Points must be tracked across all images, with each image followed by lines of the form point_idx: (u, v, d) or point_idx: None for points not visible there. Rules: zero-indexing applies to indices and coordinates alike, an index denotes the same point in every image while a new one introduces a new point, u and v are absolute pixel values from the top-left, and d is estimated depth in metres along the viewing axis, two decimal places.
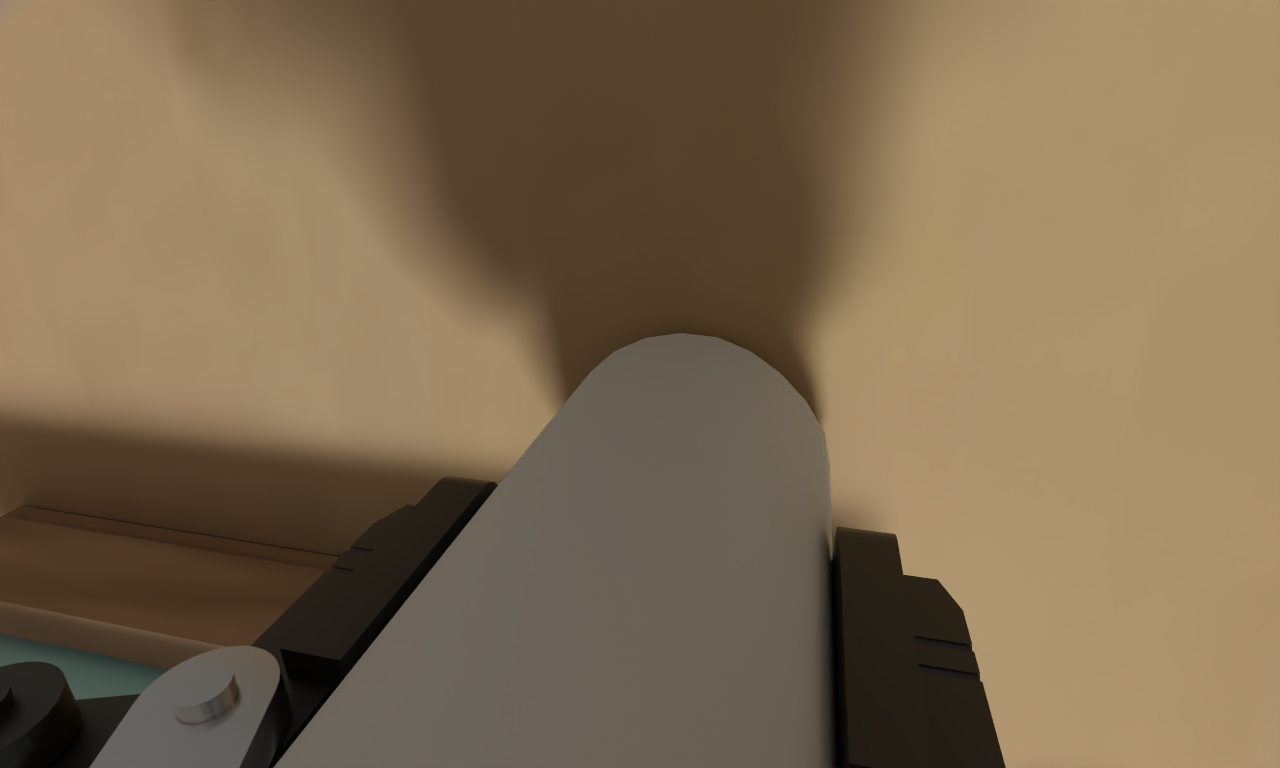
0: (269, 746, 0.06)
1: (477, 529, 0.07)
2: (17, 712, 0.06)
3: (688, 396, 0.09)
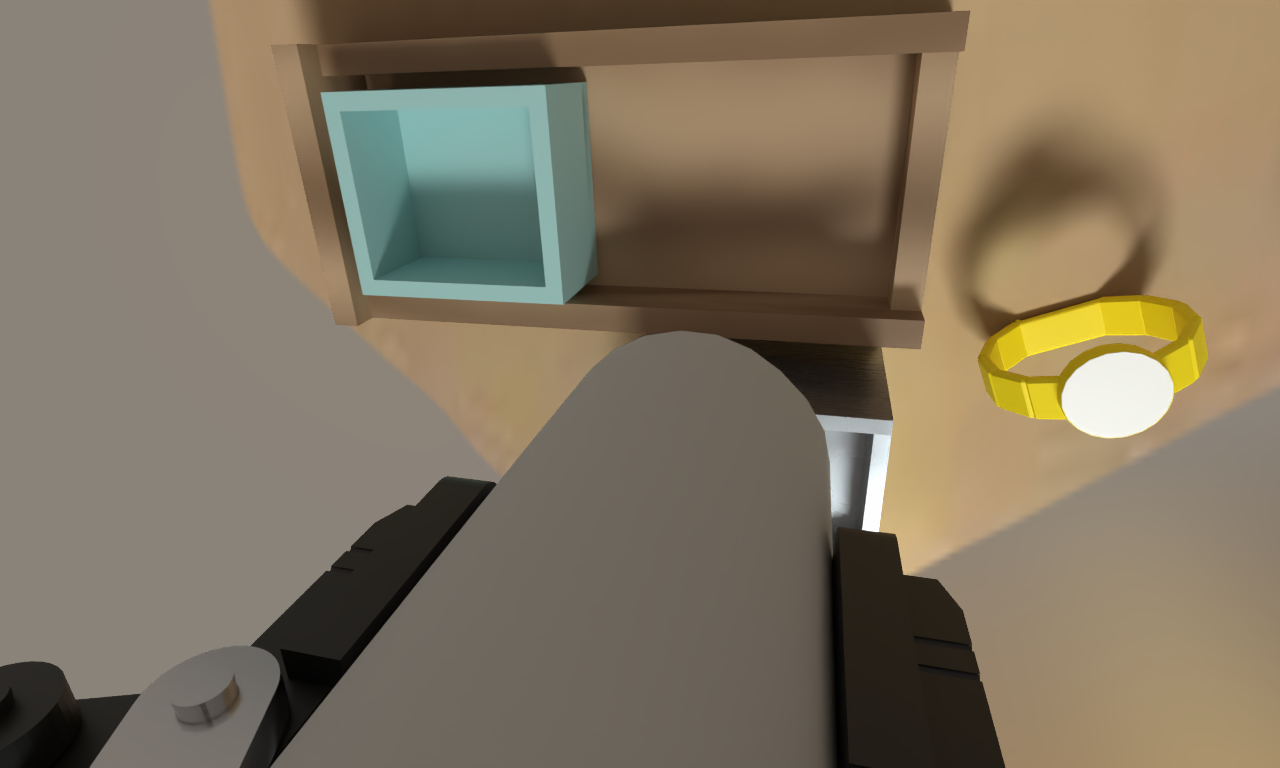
0: (269, 746, 0.06)
1: (477, 526, 0.07)
2: (17, 712, 0.06)
3: (689, 393, 0.09)
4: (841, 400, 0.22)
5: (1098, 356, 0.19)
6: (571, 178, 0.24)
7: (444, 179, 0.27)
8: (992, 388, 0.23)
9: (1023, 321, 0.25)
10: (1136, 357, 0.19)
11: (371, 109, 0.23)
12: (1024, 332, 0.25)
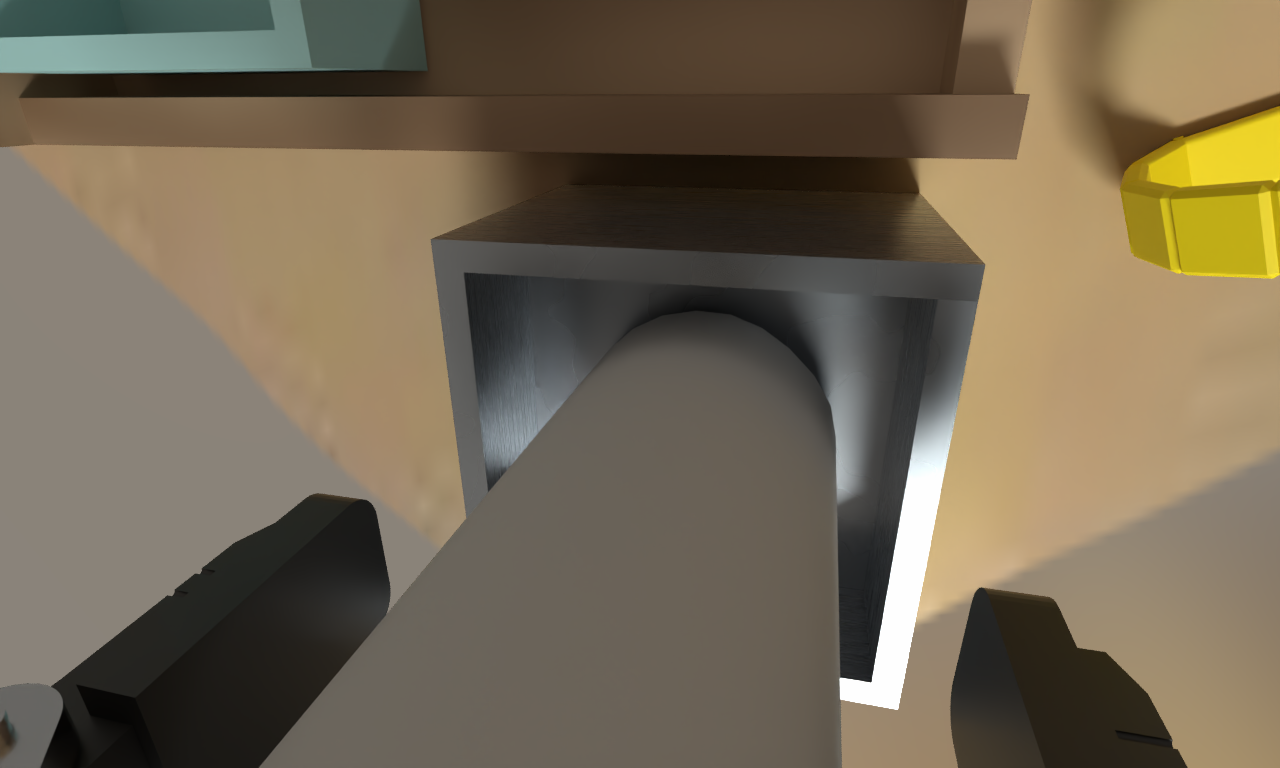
0: None
1: (516, 473, 0.08)
2: None
3: (705, 363, 0.10)
4: (861, 241, 0.10)
5: None
6: None
7: None
8: (1165, 233, 0.11)
9: (1193, 136, 0.13)
10: None
11: None
12: (1194, 158, 0.13)
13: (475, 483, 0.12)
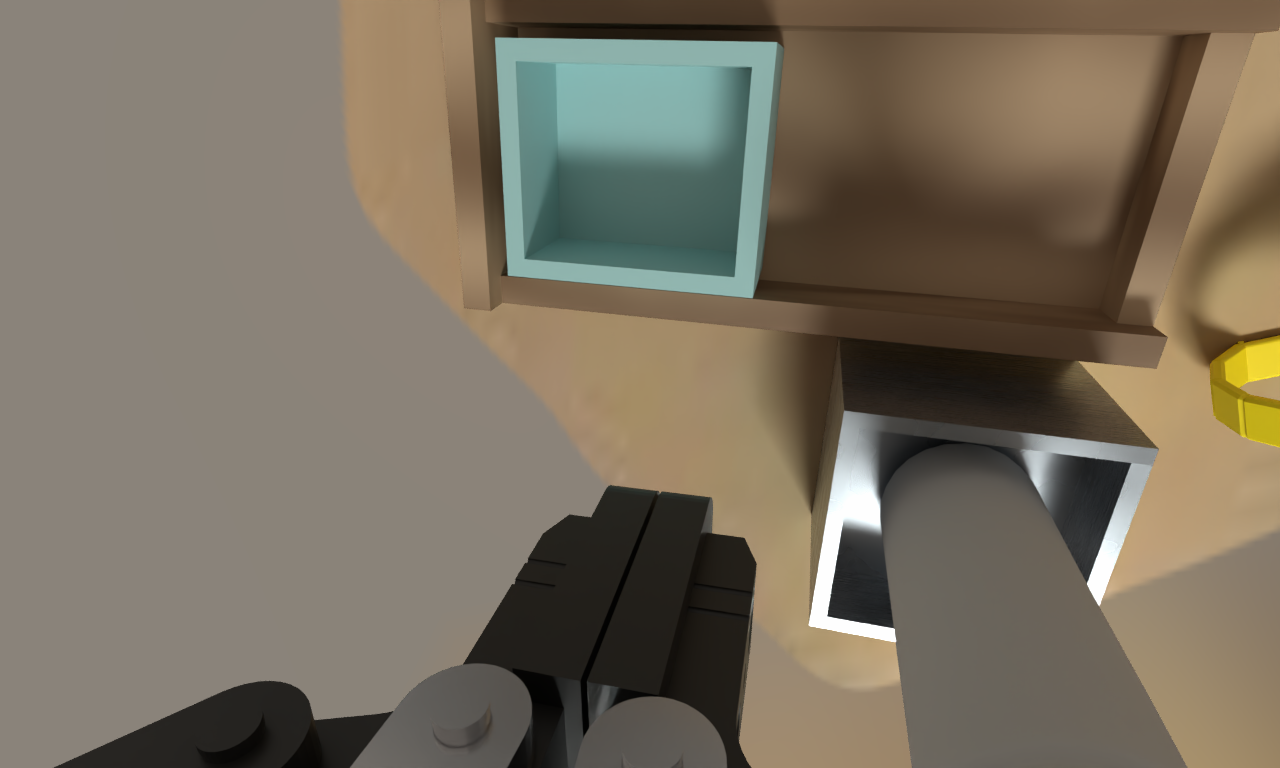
0: None
1: (952, 552, 0.17)
2: (272, 737, 0.06)
3: (1004, 487, 0.19)
4: (1081, 422, 0.19)
5: None
6: (769, 155, 0.21)
7: (600, 151, 0.24)
8: (1238, 416, 0.20)
9: (1250, 343, 0.22)
10: None
11: (555, 60, 0.20)
12: (1250, 355, 0.22)
13: (832, 538, 0.21)
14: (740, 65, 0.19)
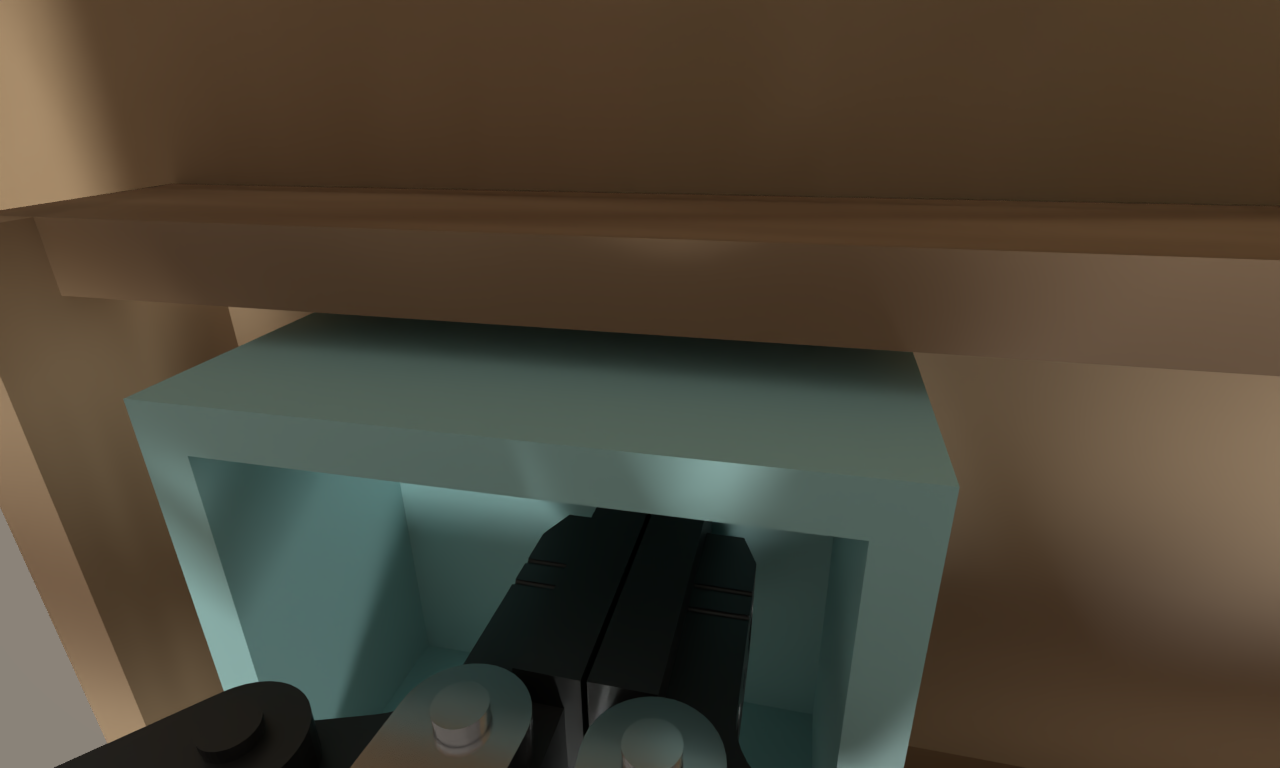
0: None
1: None
2: (272, 737, 0.06)
3: None
4: None
5: None
6: None
7: (490, 511, 0.11)
8: None
9: None
10: None
11: (287, 463, 0.07)
12: None
13: None
14: (829, 530, 0.06)
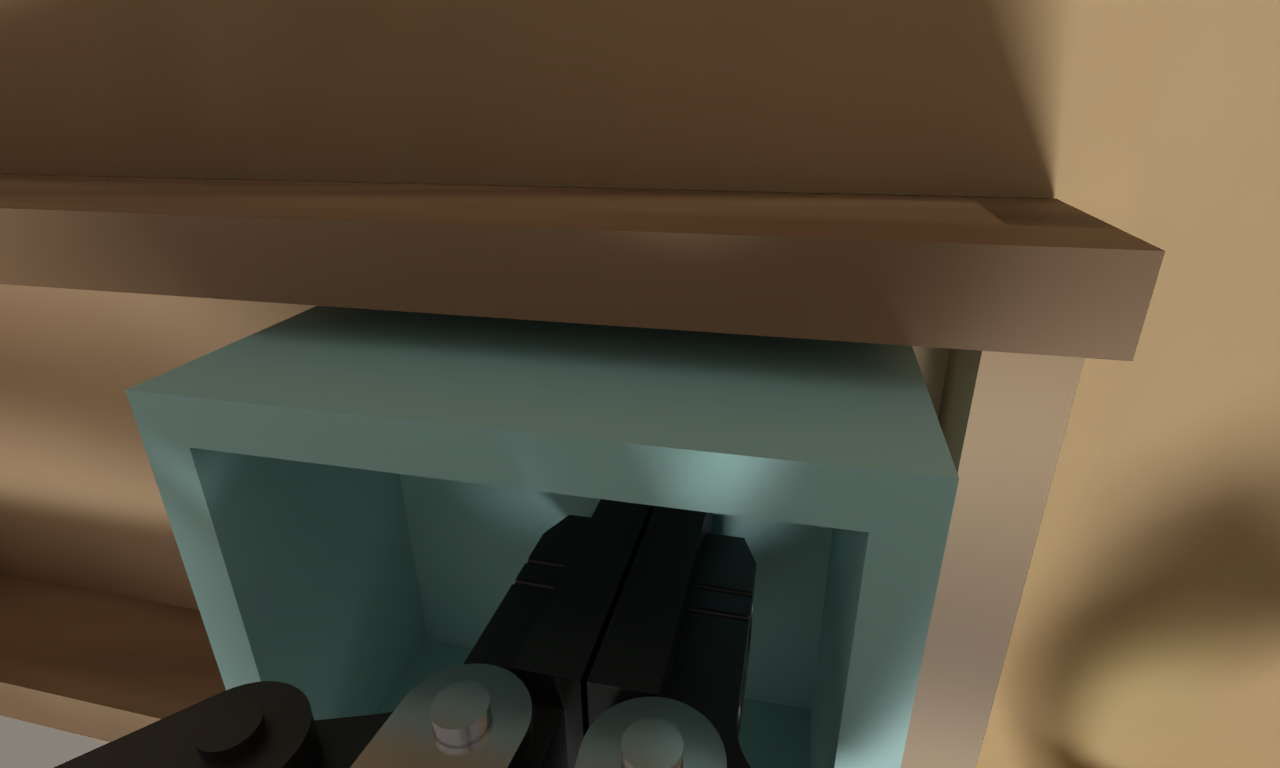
0: None
1: None
2: (272, 737, 0.06)
3: None
4: None
5: None
6: None
7: (490, 505, 0.11)
8: None
9: None
10: None
11: (289, 455, 0.07)
12: None
13: None
14: (829, 522, 0.06)
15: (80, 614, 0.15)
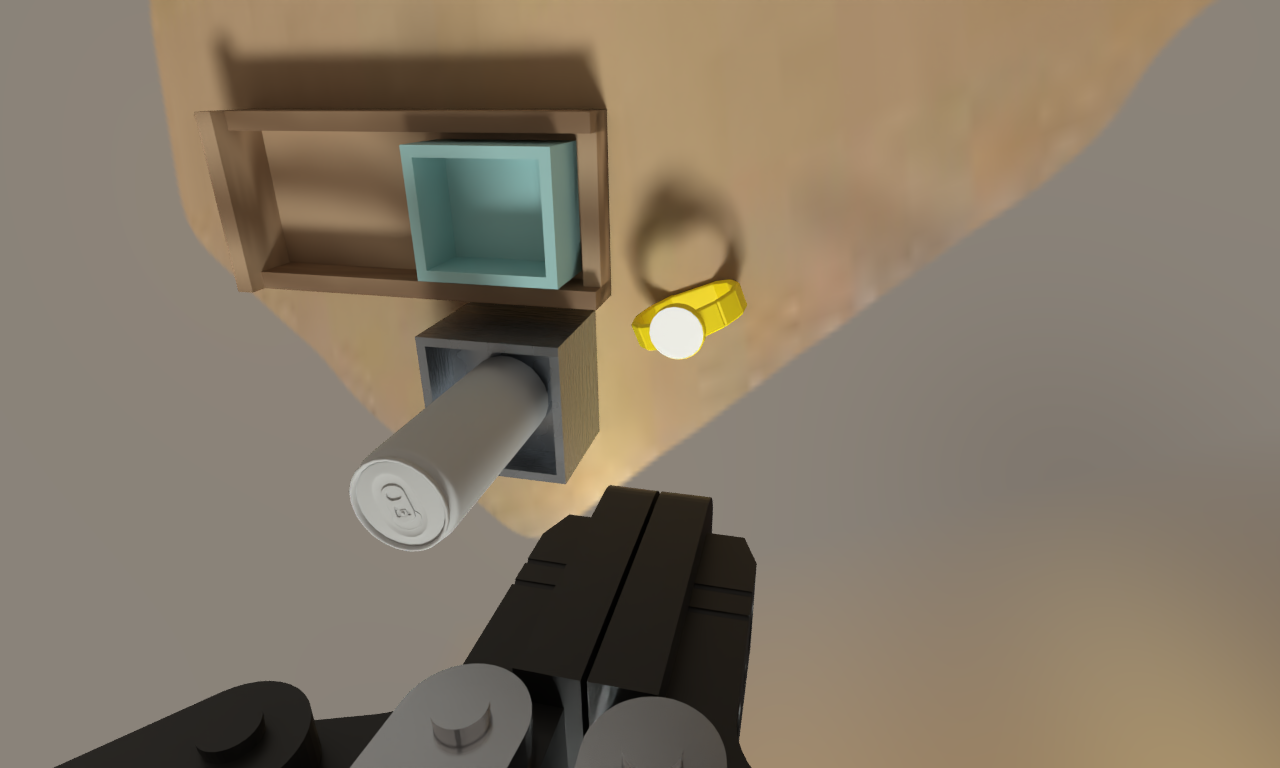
0: None
1: (435, 400, 0.34)
2: (272, 737, 0.06)
3: (492, 373, 0.36)
4: (538, 338, 0.36)
5: (663, 310, 0.34)
6: (564, 205, 0.35)
7: (475, 202, 0.38)
8: (635, 334, 0.37)
9: (673, 296, 0.39)
10: (680, 310, 0.33)
11: (433, 157, 0.34)
12: (674, 303, 0.39)
13: None
14: (532, 159, 0.33)
15: (331, 267, 0.42)
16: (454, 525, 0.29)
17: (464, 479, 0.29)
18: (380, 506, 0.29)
